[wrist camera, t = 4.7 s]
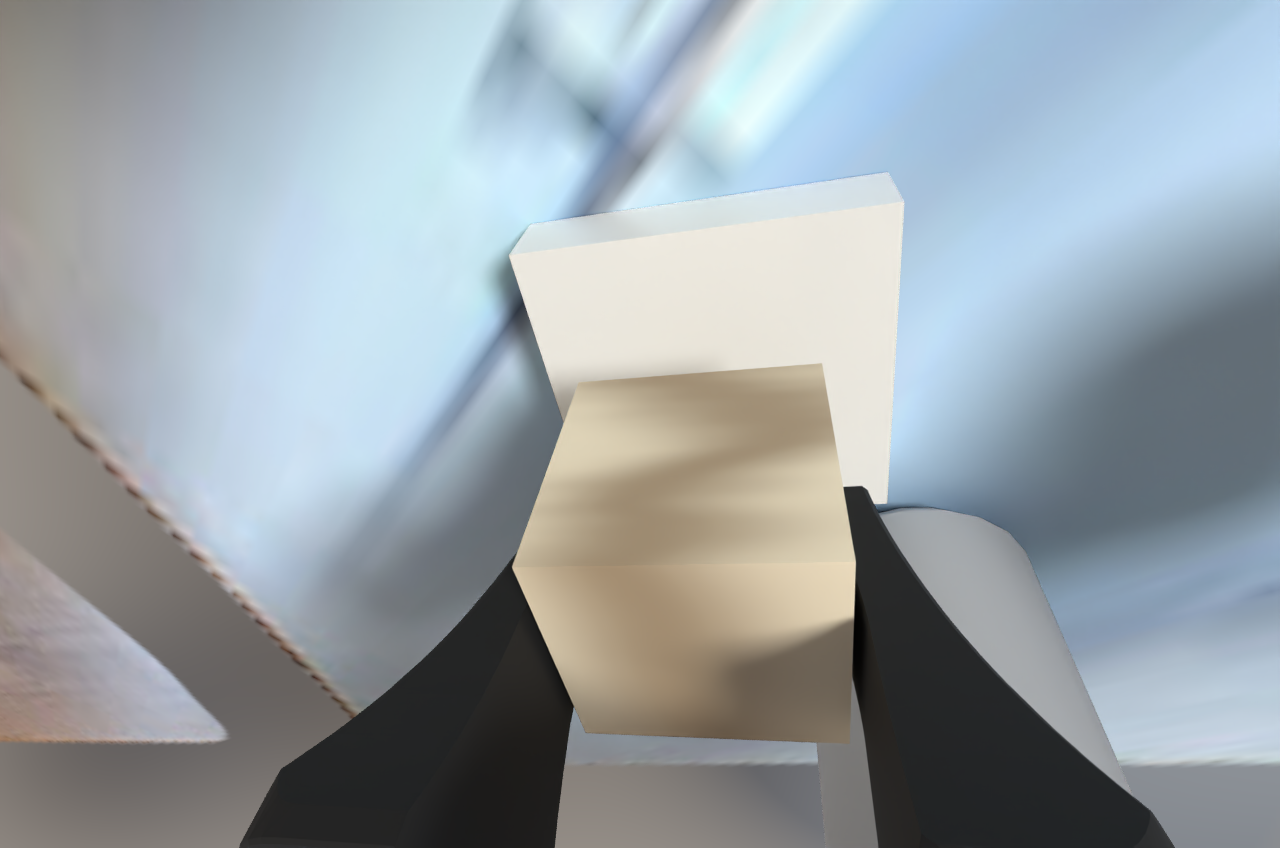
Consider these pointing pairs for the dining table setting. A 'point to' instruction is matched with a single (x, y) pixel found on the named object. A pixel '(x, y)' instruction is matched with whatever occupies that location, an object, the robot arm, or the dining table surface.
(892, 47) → the dining table surface
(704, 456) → the cube
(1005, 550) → the can
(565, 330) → the coaster
